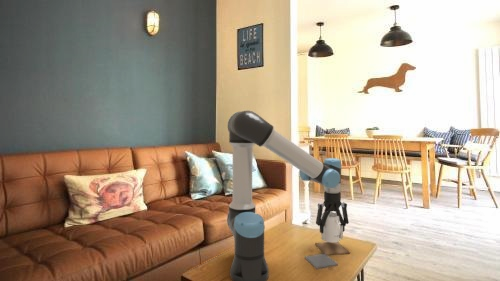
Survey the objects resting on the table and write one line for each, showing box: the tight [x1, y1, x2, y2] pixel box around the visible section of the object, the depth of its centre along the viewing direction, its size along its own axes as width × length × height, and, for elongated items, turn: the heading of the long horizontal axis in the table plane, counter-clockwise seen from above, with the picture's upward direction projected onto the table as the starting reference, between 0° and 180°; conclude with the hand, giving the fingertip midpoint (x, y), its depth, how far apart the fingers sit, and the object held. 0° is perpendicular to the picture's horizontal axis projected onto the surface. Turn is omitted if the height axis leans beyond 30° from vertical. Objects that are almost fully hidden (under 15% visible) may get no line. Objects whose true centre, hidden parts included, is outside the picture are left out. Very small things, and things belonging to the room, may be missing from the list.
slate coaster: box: [304, 253, 339, 270], centre depth 123 cm, size 10×10×1 cm
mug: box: [322, 211, 341, 243], centre depth 135 cm, size 12×8×12 cm
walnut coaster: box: [314, 241, 351, 257], centre depth 135 cm, size 12×12×1 cm
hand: (332, 238), depth 135 cm, fingers closed on mug, 8 cm apart
